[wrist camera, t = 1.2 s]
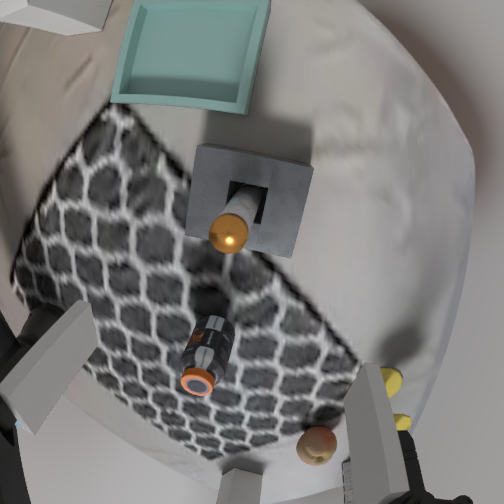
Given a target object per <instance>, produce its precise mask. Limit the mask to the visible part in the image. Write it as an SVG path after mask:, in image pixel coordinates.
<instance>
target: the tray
mask: <svg viewBox="0 0 504 504" xmlns="http://www.w3.org/2000/svg"><path fill="white" fill-rule="evenodd" d="M270 10H271V7H270V0H135V1H134V4H133V7H132V11H131V14H130V17H129V21H128V24H127V28H126V31H125V35H124V39H123V43H122V47H121V51H120V55H119V59H118V64H117V69H116V74H115V79H114V84H113V89H112V95H111V101H110V102H115V103H131V104H152V105H166V106H178V107H188V108H197V109H206V110H213V111H221V112H228V113H234V114H240V115H246V116H248V111H249V106H250V101H251V96H252V91H253V86H254V82H255V77H256V72H257V68H258V63H259V59H260V54H261V50H262V45H263V41H264V36H265V32H266V28H267V23H268V19H269V15H270Z"/></svg>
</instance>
